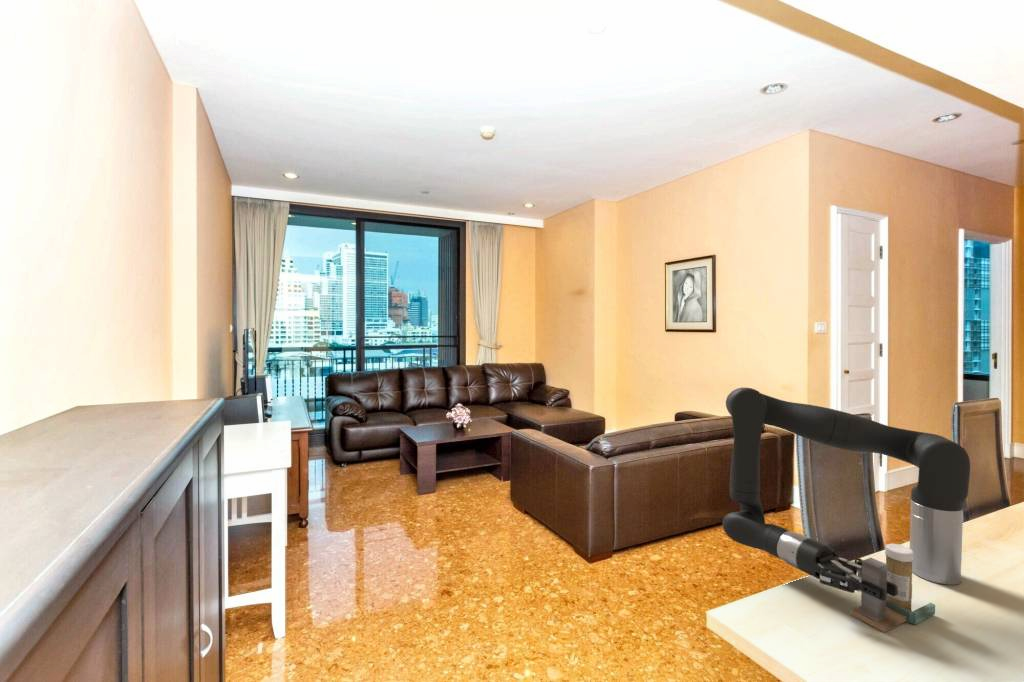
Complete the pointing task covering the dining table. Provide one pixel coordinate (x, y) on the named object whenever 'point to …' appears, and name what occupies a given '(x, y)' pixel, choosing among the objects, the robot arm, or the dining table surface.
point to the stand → (885, 602)
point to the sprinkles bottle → (900, 573)
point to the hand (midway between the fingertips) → (890, 593)
